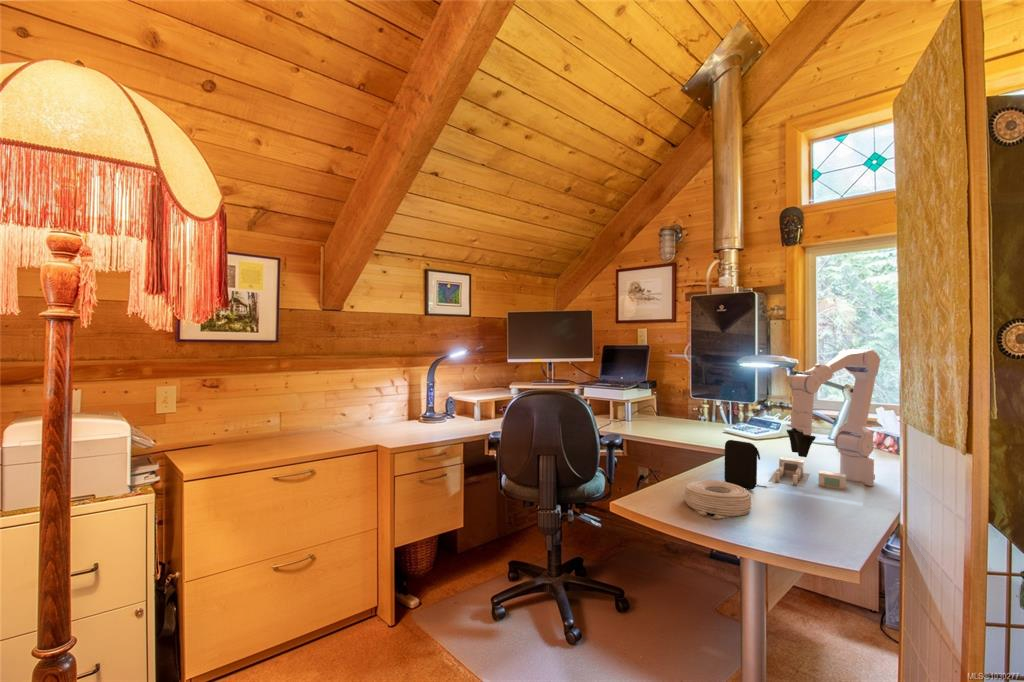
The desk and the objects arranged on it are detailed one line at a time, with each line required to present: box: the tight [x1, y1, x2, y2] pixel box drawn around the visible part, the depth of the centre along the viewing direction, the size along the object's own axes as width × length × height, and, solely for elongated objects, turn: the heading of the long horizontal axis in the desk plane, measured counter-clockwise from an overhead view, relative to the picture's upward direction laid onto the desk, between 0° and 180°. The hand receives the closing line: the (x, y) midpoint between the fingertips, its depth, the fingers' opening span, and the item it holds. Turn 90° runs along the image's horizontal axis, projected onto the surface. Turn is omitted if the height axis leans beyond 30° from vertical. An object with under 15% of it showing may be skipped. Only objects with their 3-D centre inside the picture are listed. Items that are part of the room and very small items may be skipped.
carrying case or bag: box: [723, 439, 761, 491], centre depth 152 cm, size 11×3×15 cm, turn 44°
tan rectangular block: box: [778, 456, 805, 477], centre depth 165 cm, size 7×4×5 cm, turn 53°
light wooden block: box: [818, 469, 847, 491], centre depth 152 cm, size 7×4×5 cm, turn 53°
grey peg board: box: [767, 466, 811, 488], centre depth 161 cm, size 10×19×4 cm, turn 143°
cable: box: [683, 479, 752, 520], centre depth 135 cm, size 18×18×6 cm
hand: (799, 454), depth 154 cm, fingers open, 7 cm apart
